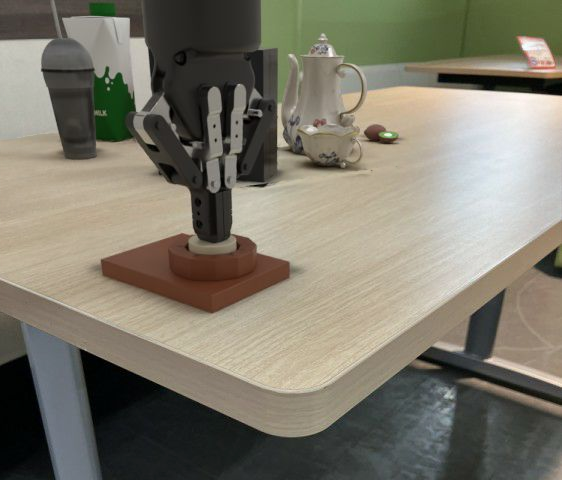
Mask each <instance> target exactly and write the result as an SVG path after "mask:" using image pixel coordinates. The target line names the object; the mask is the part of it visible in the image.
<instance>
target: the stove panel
mask: <svg viewBox="0 0 562 480" xmlns="http://www.w3.org/2000/svg"><path fill="white" fill-rule="evenodd" d="M147 52H148V53H147V54H148V64H149V76H150V77H149V78H151V77H152V74H153V70H154V56H153V53H152V51H151V50H150V49H149V48H148V47H147ZM250 61H251V66H252V69H253V72H254V76H255V85H254V88H255V89H256V90H257V92H258V93H259V94H260V95H261V96H262V98H266V99H273V100H274V101H275V102H276V112H275V115H274V117H273V119H272V122H271V124H270V127H269V129H268V131H267V134H266V136H265V139H264V141H263V143H262V146H261V148H260V150H259V153H258V155H257V158H256V160H255V162H254V165H253V167H252V170H251V172H250V173H249V174H248V175H241V176H240V177H239V178H237V179H236V182H252V183H258V184H251V185H248V187H254V188H265V187H266V186H268V185H269V184H270V182H267V181H268V180H269V179H270V178H272V177H273V176H275V175H277V173H278V118H277V116H278V101H279V99H278V95H279V93H278V91H279V90H278V89H279V88H278V85H279V84H278V83H279V80H278V78H279V76H278V75H279V63H278V62H279V48H278V47H261V46H260V47H259V49H258V50H256V51H254V52H250ZM152 95H153V94H152V93H151V96H152ZM224 140H225V138H222V141H224ZM244 146H245V145H242V150H243V148H244ZM241 153H242V151H241ZM241 153H240V154H238V155H237V157H240V155H241ZM198 160H199V169H200V171H201V160H200V159H198ZM158 175H159V176H163V175H162V174H161V173H160V171H159V170H158Z"/></svg>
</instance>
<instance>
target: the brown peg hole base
mask: <svg viewBox="0 0 562 480" xmlns="http://www.w3.org/2000/svg"><path fill="white" fill-rule="evenodd" d="M194 235H196V234H195V233H194V234H188V233H183V232H181V233H178V234H175V235H172V236H169V237H166V238H163V239H159V240H156V241H152V242H150V243H147V244H144V245H141V246H136V247H135V248H132V249H128V250H126V251H122V252H119V253H116V254H113V255H109V256H106V257H103V258H100V265H101V273H102V276H104V277H105V278H106V277H107V278H110V279H112V280H115V281H118V282H121V283H123V284H127V285H129V286H133V287H134V288H138V289H141V290H144V291H145V292H150V293H153V294H155V295H158V296H160V297H164V298H166V299H170V300H172V301H176V302H178V303H181V304H184V305H187V306H190V307H192V308H195V309H199V310H201V311H204V312H206V313H210V314H215V313H218V312H220V311H221V310H223V309H225V308H227V307H230V306H232V305H234V304H237V303H238V302H240V301H242V300H246V299H247V298H249V297H251V296H253V295H255V294H257V293H260V292H262V291H264V290H266V289H268V288H271V287H272V286H275V285H277V284H278V283H281V282H283V281H286V280H288V279H290V273H291V272H290V271H291V269H290V268H291V265H290V264H291V262H290V261H288V260H286V259H282V258H277V257H274V256H270V255H266V254H262V253H258V250H257V243H255V242H254V241H253V240H252V239H251V238H249V237H247V236H243V235H239V234H236V233H231V235H232V236H234V237H235V238H236V249H237V250H236V251H233V252H231V253H226V254H218V255H205V254H196V253H193V252H189V243H188V240H189V238H190V237H192V236H194Z"/></svg>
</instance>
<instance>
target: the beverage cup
mask: <svg viewBox="0 0 562 480" xmlns="http://www.w3.org/2000/svg"><path fill="white" fill-rule="evenodd" d="M49 2H50V7H51V11H52V15H53V22H54V26H55V29H56V34H57V38H54V39H52V40H50V41H49V42H48V43H47V44H46V45H45V47H44V48H43V51H42V54H41V59H40V65H41V67H40V72H41V73H42V77H43V80H44V83H45V86H46V88H47V90H48V95H49V99H50V103H51V107H52V111H53V115H54V116H53V117H54V119H55V124H56V127H57V132H58V136H59V140H60V145H61V147H62V150H63V153H64V158H66V159H71V160H86V159H93V158H95V157H97V140H96V131H95V111H94V92H93V86H94V71H95V69H94V67H93V62H92V59H91V57H90V55H89V53H88V51H87V50H86V49H85V47H84V46H83V45H82V44H80V43H79V42H78V41H76V40H74V39H72V38H68V37H63V35H62V31H61V30H62V29H61V26H60V21H59V16H58V12H57V7H56V3H55V0H49Z"/></svg>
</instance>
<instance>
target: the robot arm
mask: <svg viewBox="0 0 562 480" xmlns="http://www.w3.org/2000/svg"><path fill="white" fill-rule="evenodd" d="M140 2H141V3H140V4H141V13H142V24H143V35H144V36H143V37H144V43H145V46H146V48H147V49H148V48H149V49H150V50H151V51H152V53H153V56H154V70H153V74H152V77H150V90H151V96H150V98H149V99H148V100H147V101H146V103H145V104H144V106H143V107H142V108H141V110H140V111H136V112H129V113H128V114H127V116H126V121H125V122H126V126H127V128H128V130H129V131H130V132H131V134H132V135H133V136H134V137H133V138H134V139H135V140H136V142H137V143H138V145H139V146H140V147H141V149H142V151H143V152H145V154H146V155H147V157H148V158H149V159H150V161H151V162H152V163H153V165H154V166H155V167H156V169H157V170H158V172H159V171H160V173H161V174H162V175H161V176H162V177H163V178H164V179H165V181H166V183H168V184H171V185H177V186H182V187H185V188H187V190H188V191H189V193H190V194H189V195H190V206H191V219H192V229H193V231H194V235H195V234H196V235H197V237H198V238H199V239H200V240H203V241H207V242H210V243H217V242H220V241H223V240H225V239H228V238H229V237H230V235H231V234H232V231H231V230H232V227H233V196H232V195H233V194H232V191H233V190H232V189H233V188H234V187H235V185H236V183H237V180H236V179H237V178H239V177H240V176H241V175H248V174H249V173H250V172H251V170H252V167H253V165H254V162H255V160H256V158H257V155H258V153H259V150H260V148H261V146H262V143H263V141H264V139H265V136H266V134H267V131H268V129H269V127H270V124H271V122H272V119H273V117H274V115H275V112H276V102H275V101H274V100H273V99H266V98H262V96H261V95H260V94H259V93H258V92H257V90H256V89H255V88H254V85H255V76H254V72H253V69H252V66H251V61H250V52H254V51H256V50H258V49H259V47H260V48H261V45H262V0H140ZM152 94H153V95H152ZM222 138H225V140H224V141H222ZM242 145H245V146H244V148H243V150H242ZM241 151H242V153H241ZM240 153H241V155H240V157H237V155H238V154H240ZM198 159H200V160H201V171H200V169H199V160H198Z"/></svg>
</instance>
